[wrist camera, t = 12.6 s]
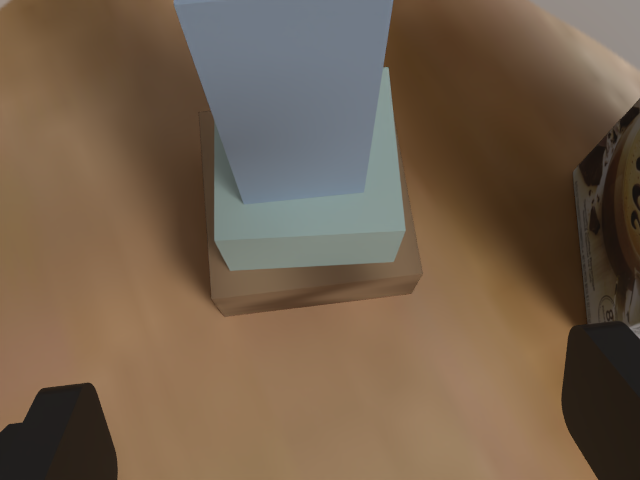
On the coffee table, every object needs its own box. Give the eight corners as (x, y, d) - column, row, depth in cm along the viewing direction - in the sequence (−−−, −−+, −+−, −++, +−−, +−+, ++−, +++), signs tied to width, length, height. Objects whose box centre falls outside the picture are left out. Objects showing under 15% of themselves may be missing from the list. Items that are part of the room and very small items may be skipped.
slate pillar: (243, 204, 23) (174, 5, 12) (236, 98, 24) (167, -162, 14) (364, 192, 23) (395, -16, 12) (349, 87, 24) (367, -179, 14)
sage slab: (230, 270, 26) (214, 240, 22) (229, 125, 28) (214, 75, 25) (393, 261, 26) (405, 230, 22) (379, 117, 28) (388, 67, 25)
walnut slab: (225, 318, 30) (211, 299, 26) (213, 151, 32) (198, 112, 29) (410, 295, 30) (422, 273, 26) (381, 132, 33) (389, 91, 29)
